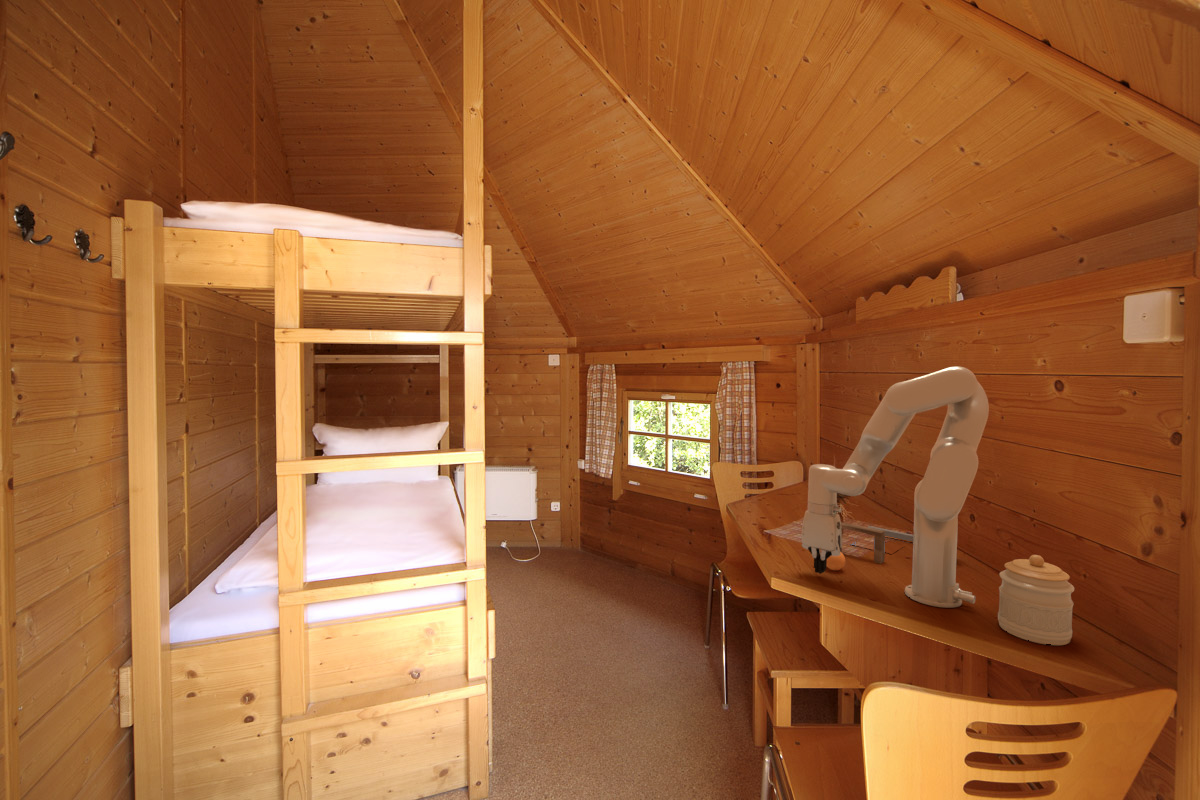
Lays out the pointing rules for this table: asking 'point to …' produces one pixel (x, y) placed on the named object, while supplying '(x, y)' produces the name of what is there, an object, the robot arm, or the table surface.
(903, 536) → the grey long bar
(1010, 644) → the table surface
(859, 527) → the bridge
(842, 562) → the ball
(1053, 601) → the jar
